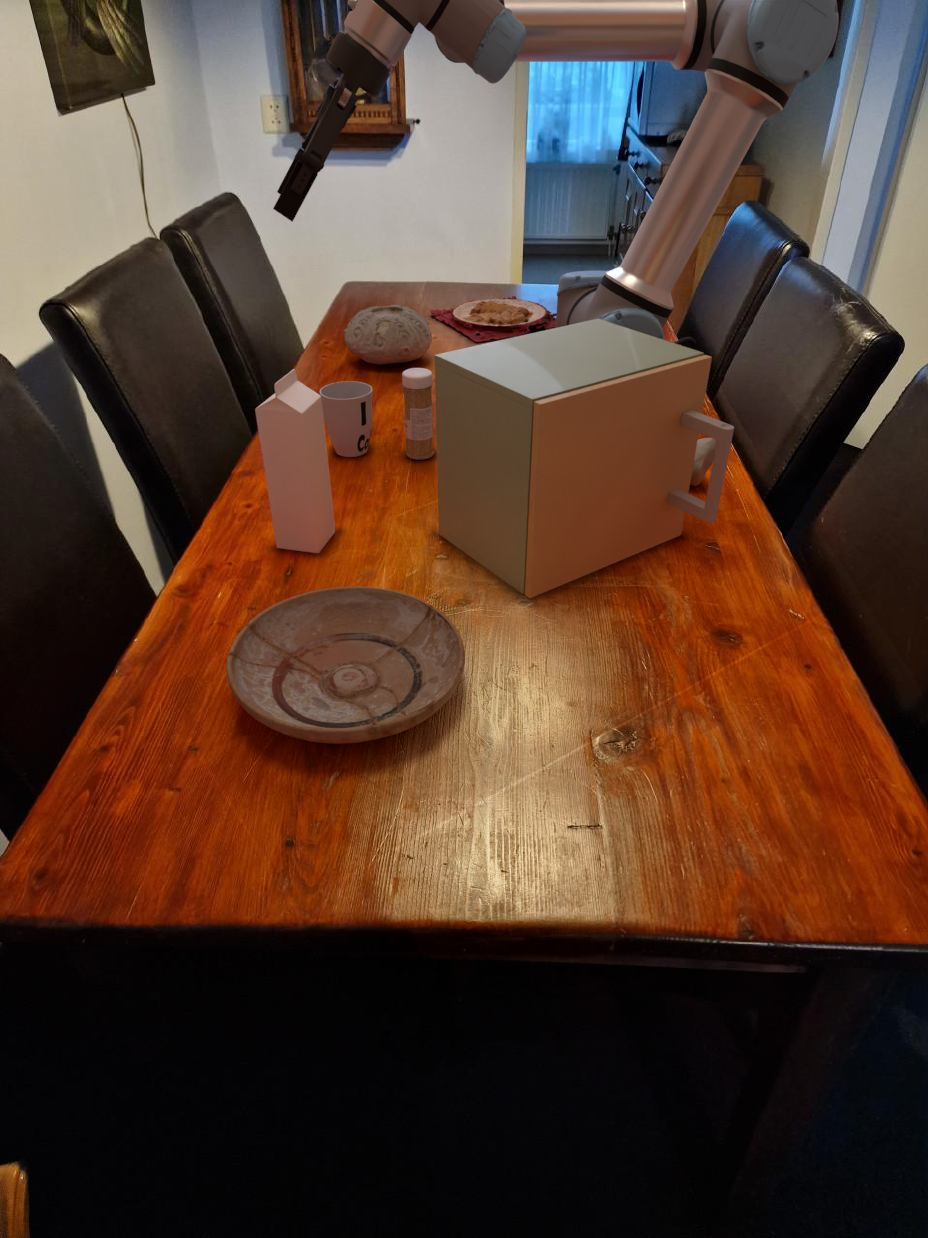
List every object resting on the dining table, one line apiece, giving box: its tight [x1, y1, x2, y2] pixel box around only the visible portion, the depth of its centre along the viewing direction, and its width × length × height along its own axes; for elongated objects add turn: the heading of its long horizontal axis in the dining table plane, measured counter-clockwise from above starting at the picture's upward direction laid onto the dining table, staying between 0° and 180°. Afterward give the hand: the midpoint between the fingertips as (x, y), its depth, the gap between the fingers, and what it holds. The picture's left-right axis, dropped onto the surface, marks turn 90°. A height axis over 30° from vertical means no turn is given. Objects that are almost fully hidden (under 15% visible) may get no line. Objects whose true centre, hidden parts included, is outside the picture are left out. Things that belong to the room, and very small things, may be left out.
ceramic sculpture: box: [690, 437, 717, 487], centre depth 120 cm, size 11×9×15 cm
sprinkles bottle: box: [401, 367, 435, 461], centre depth 126 cm, size 5×5×13 cm
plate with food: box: [429, 295, 557, 343], centre depth 191 cm, size 24×26×4 cm
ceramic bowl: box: [226, 585, 466, 744], centre depth 82 cm, size 23×24×5 cm
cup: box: [319, 380, 374, 458], centre depth 129 cm, size 8×8×10 cm
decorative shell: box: [343, 304, 433, 366], centre depth 166 cm, size 18×18×10 cm
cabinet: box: [434, 319, 705, 595], centre depth 102 cm, size 18×26×24 cm
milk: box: [254, 368, 336, 554], centre depth 102 cm, size 6×6×22 cm
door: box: [524, 354, 735, 599], centre depth 94 cm, size 8×26×24 cm, turn 126°
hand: (284, 206), depth 110 cm, fingers open, 13 cm apart
